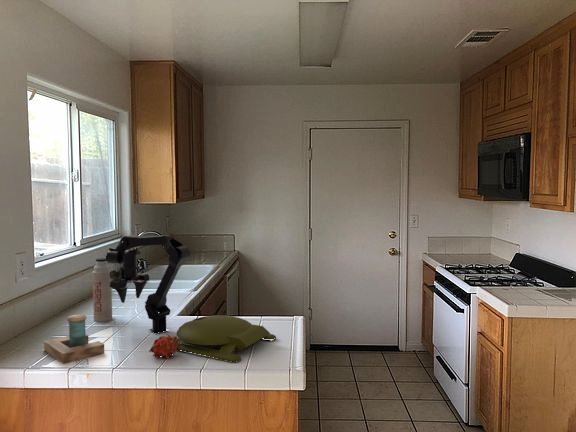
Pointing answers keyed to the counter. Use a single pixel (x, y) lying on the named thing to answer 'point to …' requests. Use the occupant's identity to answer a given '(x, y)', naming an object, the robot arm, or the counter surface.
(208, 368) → the counter surface
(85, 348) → the cutout shelf
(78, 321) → the cord reel
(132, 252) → the robot arm
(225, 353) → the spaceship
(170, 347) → the dragon fruit
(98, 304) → the thermos bottle
